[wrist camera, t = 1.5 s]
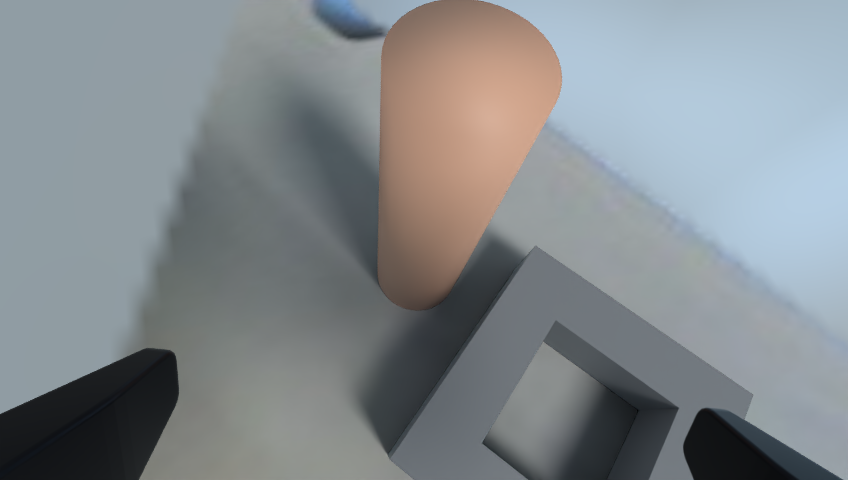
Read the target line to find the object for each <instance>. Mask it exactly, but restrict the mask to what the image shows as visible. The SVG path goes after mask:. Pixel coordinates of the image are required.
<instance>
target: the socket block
mask: <svg viewBox="0 0 848 480" xmlns="http://www.w3.org/2000/svg"><path fill="white" fill-rule="evenodd" d="M543 341H544V342H545V343H546V344H548V345H549V346H550V347H552V348H553V349H555V350H556V351H557V352H559V353H560V354H562V355H563V356H564V357H566V358H567V359H568V360H570V361H571V362H573V363H574V364H575V365H577V366H578V367H579V368H581V369H582V370H584V371H585V372H586V373H588V374H589V375H591V376H592V377H593V378H595V379H596V380H597V381H599V382H600V383H602V384H603V385H604V386H606V387H607V388H609V389H610V390H611V391H613V392H614V393H615V394H617V395H618V396H620V397H621V398H622V399H624V400H625V401H626V402H628V403H629V404H631V405H632V406H633V407H635V408H636V409H638V410H639V411H638V413H637V416H636V418H635V420H634V422H633V424H632V426H631V428H630V431H629V433H628V435H627V437H626V439H625V441H624V444H623V446H622V448H621V450H620V452H619V454H618V456H617V459H616V461H615V463H614V465H613V467H612V469H611V472H610V474H609V476H608V478H607V480H693V477H692V475H691V472H690V470H689V467H688V465H687V462H686V460H685V457H684V452H683V443H684V440H685V438H686V435H687V433H688V431H689V429H690V427H691V425H692V423H693V421H694V418H695V416H696V414H697V413H698V411H699V410H701V409H702V408H706V407H708V408H717V409H725V410H728V411H730V412H732V413H734V414H736V415H737V416H739V417H740V418H742V419H745V416H746V414H747V411H748V408H749V405H750V402H751V400H752V397H753V394H752V393H750V392H749V391H747V390H746V389H744V388H743V387H741V386H740V385H738V384H737V383H735V382H734V381H733V380H731V379H730V378H728V377H727V376H725V375H724V374H722V373H721V372H719V371H718V370H717V369H715V368H714V367H712V366H711V365H709V364H708V363H706V362H705V361H703V360H702V359H700V358H699V357H698V356H696V355H695V354H693V353H692V352H690V351H689V350H687V349H686V348H684V347H683V346H681V345H680V344H679V343H677V342H676V341H674V340H673V339H671V338H670V337H668V336H667V335H665V334H664V333H662V332H661V331H660V330H658V329H657V328H655V327H654V326H652V325H651V324H649V323H648V322H646V321H645V320H644V319H642V318H641V317H639V316H638V315H636V314H635V313H633V312H632V311H630V310H629V309H627V308H626V307H625V306H623V305H622V304H620V303H619V302H617V301H616V300H614V299H613V298H611V297H610V296H608V295H607V294H606V293H604V292H603V291H601V290H600V289H598V288H597V287H595V286H594V285H592V284H591V283H589V282H588V281H587V280H585V279H584V278H582V277H581V276H579V275H578V274H576V273H575V272H573V271H572V270H571V269H569V268H568V267H566V266H565V265H563V264H562V263H560V262H559V261H557V260H556V259H554V258H553V257H552V256H550V255H549V254H547V253H546V252H544V251H543V250H541V249H540V248H538V247H537V246H535V247H534V248H533V249H532V250H531V251H530V252H529V254H528V255H527V256H526V257H525V258H524V259H523V260H522V261H521V263H520V264H519V265H518V266H517V267H516V269H515V270H514V271H513V273H512V274H511V276H510V277H509V279H508V280H507V282H506V283H505V285H504V286H503V287H502V289H501V290H500V292H499V293H498V295H497V296H496V298H495V299H494V301H493V302H492V304H491V305H490V306H489V308H488V309H487V311H486V312H485V314H484V315H483V317H482V318H481V320H480V321H479V322H478V324H477V325H476V327H475V328H474V330H473V331H472V333H471V334H470V336H469V337H468V339H467V340H466V341H465V343H464V344H463V346H462V347H461V349H460V350H459V352H458V353H457V355H456V356H455V357H454V359H453V360H452V362H451V363H450V365H449V366H448V368H447V369H446V371H445V372H444V374H443V375H442V376H441V378H440V379H439V381H438V382H437V384H436V385H435V387H434V388H433V390H432V391H431V392H430V394H429V395H428V397H427V398H426V400H425V401H424V403H423V404H422V406H421V407H420V408H419V410H418V411H417V413H416V414H415V416H414V417H413V419H412V420H411V422H410V423H409V425H408V426H407V427H406V429H405V430H404V432H403V433H402V435H401V436H400V438H399V439H398V441H397V442H396V443H395V445H394V446H393V448H392V449H391V451H390V452H389V454H388V457H389V459H390V460H391V461H392V462H393V463H395V464H396V465H397V466H398V467H399V468H401V469H402V470H403V471H404V472H405V473H407V474H408V475H409V476H410V477H411V478H413V479H414V480H528V479H526V478H525V477H524V476H523V475H521V474H520V473H519V472H518V471H516V470H515V469H514V468H513V467H511V466H510V465H509V464H507V463H506V462H505V461H504V460H502V459H501V458H500V457H499V456H497V455H496V454H495V453H494V452H492V451H491V450H490V449H488V448H487V447H486V446H485V445H483V444H482V442H483V440H484V438H485V437H486V435H487V433H488V432H489V430H490V429H491V427H492V425H493V424H494V422H495V420H496V419H497V417H498V415H499V414H500V412H501V410H502V409H503V407H504V405H505V404H506V402H507V400H508V399H509V397H510V395H511V394H512V392H513V390H514V389H515V387H516V385H517V384H518V382H519V380H520V379H521V377H522V375H523V374H524V372H525V370H526V369H527V367H528V365H529V364H530V362H531V360H532V359H533V357H534V355H535V354H536V352H537V350H538V349H539V347H540V345H541V344H542V342H543Z"/></svg>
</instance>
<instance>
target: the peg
mask: <svg viewBox="0 0 848 480" xmlns="http://www.w3.org/2000/svg"><path fill="white" fill-rule="evenodd" d="M561 85H562V73H561V67H560V63H559V60H558V57H557V55H556V53H555V51H554V49H553V47H552V46H551V44H550V43H549V41H548V40H547V39H546V38H545V37H544V35H543V34H542V33H541V32H540V31H539V30H538V29H537V28H536V27H535V26H533V25H532V24H531V23H530V22H528V21H527V20H526V19H524V18H523V17H521V16H519V15H518V14H516V13H514V12H512V11H510V10H508V9H505V8H503V7H500V6H498V5H494V4H491V3H487V2H483V1H478V0H439V1H434V2H430V3H427V4H424V5H422V6H419V7H417V8H415V9H413V10H411V11H409V12H408V13H406V14H405V15H404V16H402V17H401V18H400V19H399V20H398V21H397V22H396V23H395V24H394V25H393V26H392V28H391V29H390V31H389V32H388V34H387V36H386V38H385V41H384V44H383V48H382V56H381V105H380V161H379V216H378V281H379V284H380V287H381V289H382V291H383V292H384V294H385V295H386V296H387V297H388V298H389V299H390V300H391V301H392V302H393V303H395V304H396V305H398V306H400V307H402V308H405V309H409V310H426V309H429V308H432V307H435V306H437V305H438V304H440V303H441V302H442V301H443V300H445V299H446V297H447V296H448V295H449V293H450V292H451V290H452V288H453V287H454V285H455V283H456V281H457V279H458V278H459V276H460V274H461V272H462V270H463V269H464V267H465V265H466V263H467V261H468V260H469V258H470V256H471V254H472V252H473V251H474V249H475V247H476V245H477V244H478V242H479V240H480V238H481V236H482V235H483V233H484V231H485V229H486V227H487V226H488V224H489V222H490V220H491V218H492V217H493V215H494V213H495V211H496V210H497V208H498V206H499V204H500V202H501V201H502V199H503V197H504V195H505V193H506V192H507V190H508V188H509V186H510V184H511V183H512V181H513V179H514V177H515V176H516V174H517V172H518V170H519V168H520V167H521V165H522V163H523V161H524V159H525V158H526V156H527V154H528V152H529V150H530V149H531V147H532V145H533V143H534V142H535V140H536V138H537V136H538V134H539V133H540V131H541V129H542V127H543V125H544V124H545V122H546V120H547V118H548V116H549V115H550V113H551V111H552V109H553V107H554V106H555V104H556V101H557V99H558V97H559V94H560V90H561Z"/></svg>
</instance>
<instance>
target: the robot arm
mask: <svg viewBox="0 0 848 480" xmlns="http://www.w3.org/2000/svg"><path fill="white" fill-rule="evenodd" d="M178 396H179V384H178V372H177V360H176V356H175V354H174V352H172V351H171V350H164V349H155V348H146V349H143V350H141V351H138V352H136V353H134V354H132V355H130V356H127V357H125V358H123V359H121V360H119V361H116V362H114V363H112V364H110V365H108V366H105V367H103V368H101V369H99V370H97V371H94V372H92V373H90V374H88V375H85V376H83V377H81V378H79V379H77V380H75V381H72V382H70V383H68V384H66V385H63V386H61V387H59V388H57V389H55V390H52V391H50V392H48V393H46V394H44V395H41V396H39V397H37V398H35V399H33V400H30V401H28V402H26V403H24V404H22V405H19V406H17V407H15V408H13V409H10V410H8V411H6V412H4V413H2V414H0V480H139V479H140V476H141V474H142V472H143V470H144V468H145V466H146V464H147V462H148V460H149V458H150V456H151V454H152V452H153V450H154V448H155V446H156V444H157V442H158V440H159V438H160V436H161V434H162V432H163V430H164V428H165V426H166V424H167V422H168V420H169V418H170V416H171V414H172V412H173V410H174V408H175V406H176V403H177V400H178ZM683 452H684V457H685V460H686V462H687V465H688V467H689V470H690V472H691V475H692V477H693V480H843V479H841V478H839V477H838V476H836V475H834V474H833V473H831V472H829V471H828V470H826V469H825V468H823V467H821V466H820V465H818V464H816V463H815V462H813V461H811V460H810V459H808V458H806V457H805V456H803V455H801V454H800V453H798V452H797V451H795V450H793V449H792V448H790V447H788V446H787V445H785V444H783V443H782V442H780V441H778V440H777V439H775V438H773V437H772V436H770V435H769V434H767V433H765V432H764V431H762V430H760V429H759V428H757V427H755V426H754V425H752V424H750V423H749V422H747V421H745V420H744V419H742V418H740V417H739V416H737V415H736V414H734V413H732V412H730V411H728V410H725V409H717V408H708V407H706V408H702V409H701V410H699V411H698V413H697V414H696V416H695V418H694V421H693V423H692V425H691V427H690V429H689V431H688V433H687V435H686V438H685V440H684V443H683Z"/></svg>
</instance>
